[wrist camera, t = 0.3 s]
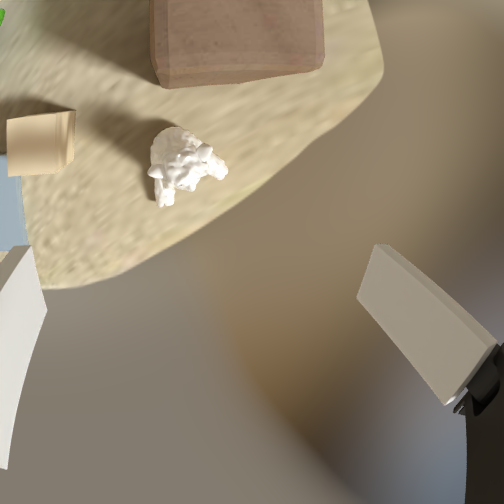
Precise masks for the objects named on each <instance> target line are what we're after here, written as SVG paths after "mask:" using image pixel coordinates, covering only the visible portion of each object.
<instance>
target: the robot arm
mask: <svg viewBox="0 0 504 504" xmlns="http://www.w3.org/2000/svg"><path fill="white" fill-rule="evenodd" d="M356 298H357V299H358V301H359V302H360V303H361V304H362V305H363V306H364V307H365V309H366V310H367V311H368V312H369V313H370V314H371V316H372V317H373V318H374V319H375V320H376V322H377V323H378V324H379V325H380V326H381V327H382V329H383V330H384V331H385V332H386V333H387V334H388V336H389V337H390V338H391V339H392V341H393V342H394V343H395V344H396V345H397V347H398V348H399V349H400V350H401V352H402V353H403V354H404V355H405V356H406V358H407V359H408V360H409V361H410V363H411V364H412V365H413V366H414V368H415V369H416V370H417V371H418V372H419V374H420V375H421V376H422V378H423V379H424V380H425V381H426V383H427V384H428V385H429V387H430V388H431V389H432V390H433V392H434V393H435V394H436V395H437V397H438V398H439V399H440V401H441V402H442V403H443V405H446V404H448V403H449V402H451V401H453V400H455V399H456V398H457V397H458V396H459V395H460V393H461V392H462V391H463V390H464V388H465V387H467V389H468V390H469V391H468V392H467V393H466V394H465V395H464V397H463V398H462V399H461V400H460V401H459V403H458V404H457V405H456V406H455V407H454V411H453V413H456V412H457V411H458V410H459V409H460V408H461V406H464V407H463V408H462V409H461V410H460V411H459V414H461V415H465V416H466V436H467V476H466V493H465V504H504V343H503V344H502V345H501V346H499V345H498V344H497V340H496V339H495V338H494V337H493V336H492V335H491V334H490V333H489V332H488V331H486V329H485V328H484V327H482V326H481V325H480V324H479V323H478V322H477V321H476V320H475V319H474V318H473V317H472V316H471V315H470V314H469V313H468V312H466V310H464V309H463V308H462V307H461V306H460V305H459V304H458V303H457V302H456V301H454V300H453V299H452V298H451V297H450V296H449V295H448V294H446V292H444V291H443V290H442V289H441V288H440V287H439V286H438V285H436V284H435V283H434V282H433V281H432V280H431V279H429V278H428V277H427V276H426V275H425V274H424V273H422V272H421V271H420V270H419V269H418V268H416V267H415V266H414V265H413V264H412V263H410V262H409V261H408V260H407V259H405V258H404V257H403V256H402V255H400V254H399V253H398V252H397V251H395V250H394V249H393V248H392V247H390V246H389V245H388V244H375V245H374V248H373V251H372V254H371V257H370V260H369V263H368V266H367V269H366V272H365V275H364V278H363V281H362V283H361V286H360V289H359V292H358V295H357V297H356ZM46 312H47V308H46V304H45V301H44V297H43V294H42V290H41V286H40V282H39V278H38V274H37V270H36V266H35V261H34V256H33V252H32V247H31V245H24V246H13V248H12V249H11V250H10V251H9V253H8V254H7V255H6V257H5V258H4V259H3V260H2V262H1V263H0V468H3V469H7V466H8V458H9V450H10V444H11V437H12V431H13V426H14V421H15V416H16V411H17V407H18V402H19V398H20V394H21V390H22V386H23V382H24V379H25V375H26V371H27V368H28V365H29V361H30V358H31V355H32V352H33V349H34V346H35V343H36V340H37V337H38V334H39V331H40V328H41V326H42V323H43V320H44V318H45V315H46Z"/></svg>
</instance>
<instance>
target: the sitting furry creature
mask: <svg viewBox="0 0 504 504" xmlns="http://www.w3.org/2000/svg"><path fill="white" fill-rule="evenodd" d="M150 149H151V156H150V159H151V161H150V162H151V167H150V168H149V169H148V173H147V174H148V175H149V176H151V177H154V179H155V183H154V186H155V189H154V193H155V197H156V203H157V206H158V207H163V205H165V206H169V205H172V204H174V193H175V190H174V189H173V188H178V189H181V190H182V189H184V190H187V191H194V190H195V188H196V184H197V182H198V181H199V180H200V177H202V176H205V175H207V174H208V175H211V176H213V177H215V178H216V179H218V180H222V179H223V178H224V176H225V175H226V174H227V173H228V169H227V167H226V166H225V164H224V163H225V162H224V161H223V160H222V159H220V158H219V156H218V155H215V154H214V153H212V146H210V145H208V144H205V143H203V144H202V142H201V141H200V140H199V139H198V138H196V137H195V136H194V134H191V133H189V130H183V129H182V128H181V127H178V126H177V127H169V128H166V129H165V130H162V131H161V132H160V133H158V135H157V136H156V137H155V138H154V141H153V144H152V145H151V148H150Z"/></svg>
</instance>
